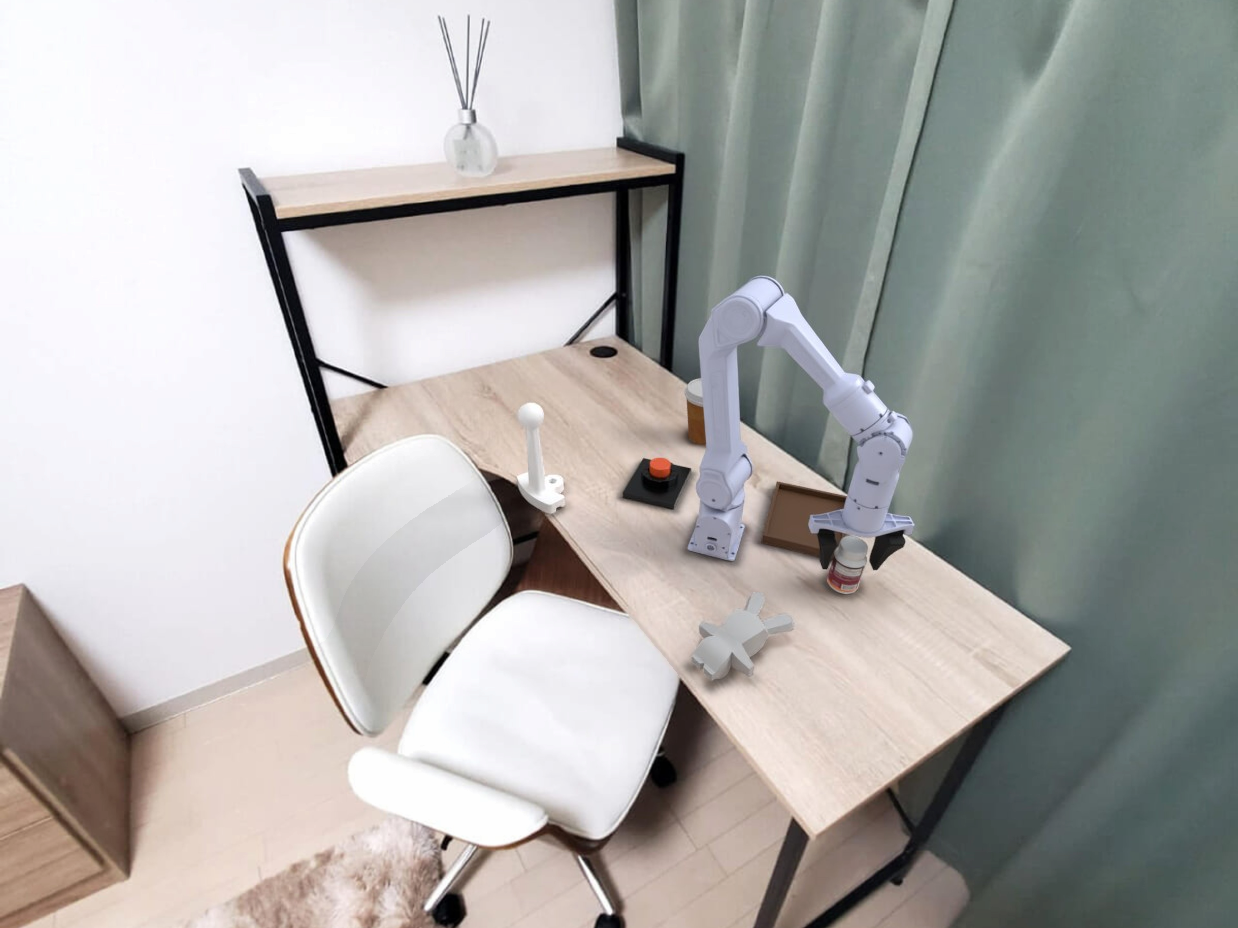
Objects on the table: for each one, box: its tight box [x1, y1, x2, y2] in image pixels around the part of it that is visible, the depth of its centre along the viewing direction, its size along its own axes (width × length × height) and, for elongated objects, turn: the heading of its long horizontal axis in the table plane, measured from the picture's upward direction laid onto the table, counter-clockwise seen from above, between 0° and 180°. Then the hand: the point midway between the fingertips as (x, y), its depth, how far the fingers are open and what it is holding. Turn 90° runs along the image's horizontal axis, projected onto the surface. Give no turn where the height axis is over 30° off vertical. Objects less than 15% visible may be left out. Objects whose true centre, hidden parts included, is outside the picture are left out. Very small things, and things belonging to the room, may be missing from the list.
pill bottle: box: [826, 535, 869, 595], centre depth 93 cm, size 5×5×8 cm
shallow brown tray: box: [760, 481, 847, 561], centre depth 107 cm, size 16×13×2 cm
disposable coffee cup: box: [683, 377, 706, 446], centre depth 127 cm, size 10×10×12 cm
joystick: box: [516, 402, 566, 515], centre depth 108 cm, size 11×8×20 cm
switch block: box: [622, 457, 692, 511], centre depth 115 cm, size 12×10×3 cm
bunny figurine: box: [690, 591, 796, 682], centre depth 84 cm, size 10×5×15 cm
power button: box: [649, 457, 672, 478], centre depth 115 cm, size 4×4×2 cm
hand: (848, 565), depth 93 cm, fingers open, 7 cm apart
